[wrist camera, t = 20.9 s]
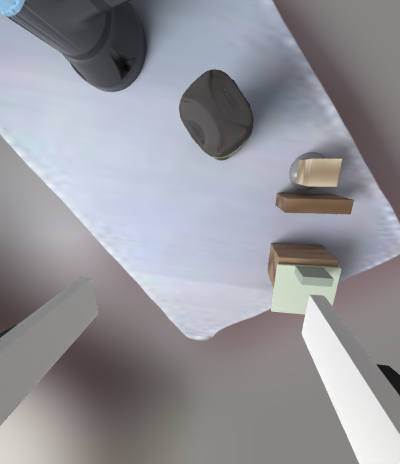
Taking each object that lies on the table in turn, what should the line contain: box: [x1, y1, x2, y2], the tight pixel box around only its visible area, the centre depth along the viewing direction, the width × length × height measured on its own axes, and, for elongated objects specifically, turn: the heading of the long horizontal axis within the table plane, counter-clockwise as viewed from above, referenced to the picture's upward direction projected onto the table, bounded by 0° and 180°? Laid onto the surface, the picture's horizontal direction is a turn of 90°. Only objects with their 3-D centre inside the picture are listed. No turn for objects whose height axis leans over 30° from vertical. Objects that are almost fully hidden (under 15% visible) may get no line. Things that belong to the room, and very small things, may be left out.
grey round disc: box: [290, 153, 324, 189], centre depth 40 cm, size 7×7×1 cm
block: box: [296, 159, 342, 187], centre depth 37 cm, size 4×4×7 cm
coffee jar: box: [179, 70, 253, 160], centre depth 32 cm, size 10×8×19 cm
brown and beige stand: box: [268, 193, 354, 287], centre depth 41 cm, size 19×11×8 cm, turn 0°
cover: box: [271, 263, 342, 314], centre depth 38 cm, size 11×12×5 cm
